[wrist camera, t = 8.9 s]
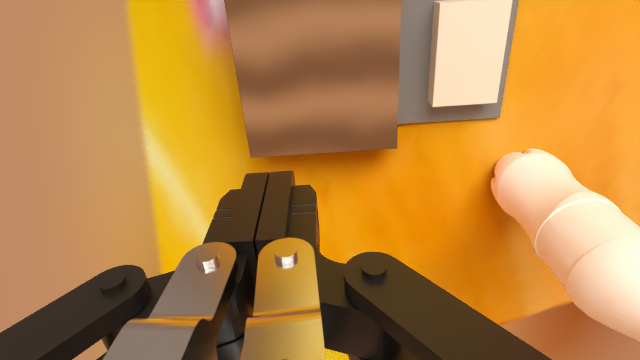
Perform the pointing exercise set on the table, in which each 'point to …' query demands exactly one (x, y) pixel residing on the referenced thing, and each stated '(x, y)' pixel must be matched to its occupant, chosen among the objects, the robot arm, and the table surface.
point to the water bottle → (575, 236)
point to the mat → (417, 65)
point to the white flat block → (467, 51)
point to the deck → (317, 74)
